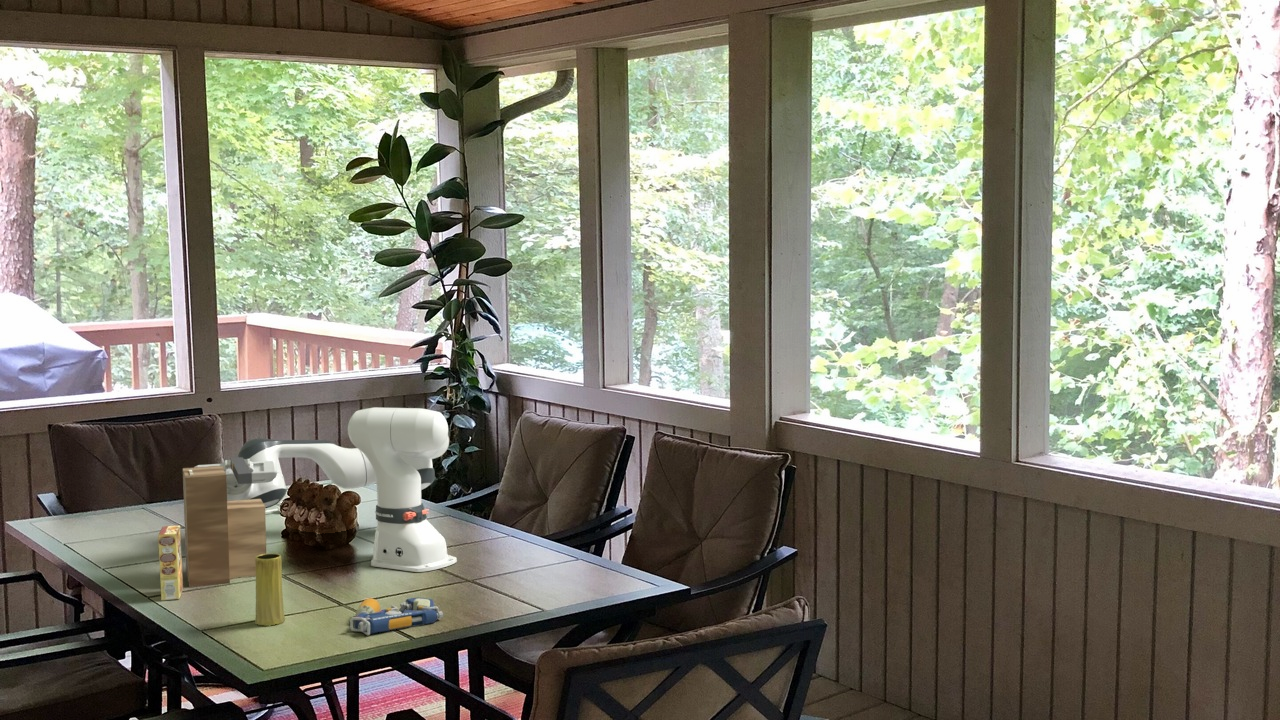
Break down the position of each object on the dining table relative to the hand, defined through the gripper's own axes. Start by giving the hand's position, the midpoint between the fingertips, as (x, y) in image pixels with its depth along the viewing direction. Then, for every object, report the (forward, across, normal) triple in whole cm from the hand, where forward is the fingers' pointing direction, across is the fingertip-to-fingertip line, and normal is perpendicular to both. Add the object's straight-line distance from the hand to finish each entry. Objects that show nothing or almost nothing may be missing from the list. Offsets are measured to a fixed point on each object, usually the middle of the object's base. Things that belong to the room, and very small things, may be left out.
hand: (237, 462), depth 306 cm
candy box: (+8, +17, -35) cm, 39 cm away
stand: (-3, +4, -28) cm, 29 cm away
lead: (+7, 0, -6) cm, 9 cm away
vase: (+34, -2, -50) cm, 60 cm away
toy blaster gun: (+42, -26, -55) cm, 73 cm away
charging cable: (-62, -12, +6) cm, 64 cm away
